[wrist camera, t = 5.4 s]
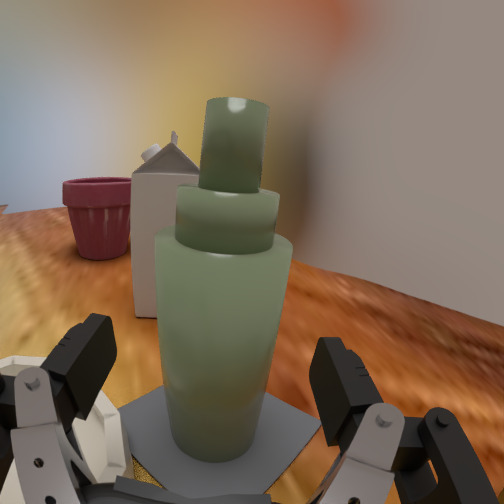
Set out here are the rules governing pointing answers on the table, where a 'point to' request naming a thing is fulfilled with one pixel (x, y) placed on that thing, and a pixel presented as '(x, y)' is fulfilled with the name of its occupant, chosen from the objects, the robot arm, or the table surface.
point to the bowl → (81, 438)
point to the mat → (216, 474)
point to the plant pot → (99, 215)
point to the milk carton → (154, 214)
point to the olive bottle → (221, 288)
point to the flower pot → (501, 497)
